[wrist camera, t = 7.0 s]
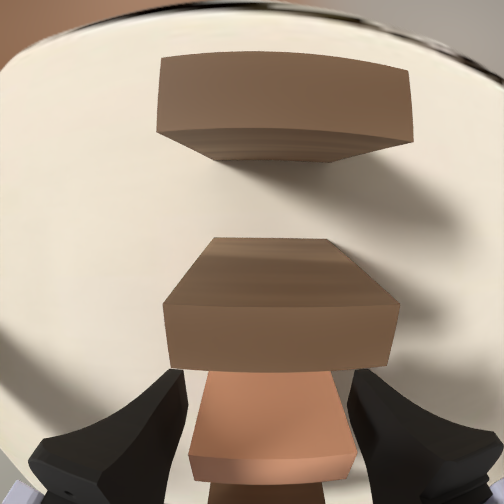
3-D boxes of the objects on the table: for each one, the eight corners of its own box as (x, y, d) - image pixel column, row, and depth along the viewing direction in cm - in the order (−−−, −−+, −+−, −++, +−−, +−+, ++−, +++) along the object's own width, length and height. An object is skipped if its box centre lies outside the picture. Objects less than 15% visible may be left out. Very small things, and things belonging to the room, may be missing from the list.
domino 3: (314, 363, 15) (346, 478, 7) (219, 362, 15) (194, 480, 7) (318, 337, 14) (357, 452, 7) (217, 336, 14) (188, 454, 7)
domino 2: (324, 273, 13) (386, 365, 6) (215, 272, 13) (170, 368, 6) (326, 239, 13) (400, 304, 6) (214, 237, 13) (162, 303, 6)
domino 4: (304, 426, 16) (320, 527, 8) (223, 426, 16) (209, 529, 8) (307, 409, 15) (327, 516, 8) (221, 409, 15) (205, 517, 8)
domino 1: (329, 162, 12) (413, 142, 5) (213, 160, 12) (156, 132, 5) (329, 127, 12) (408, 70, 5) (214, 124, 12) (161, 58, 5)
